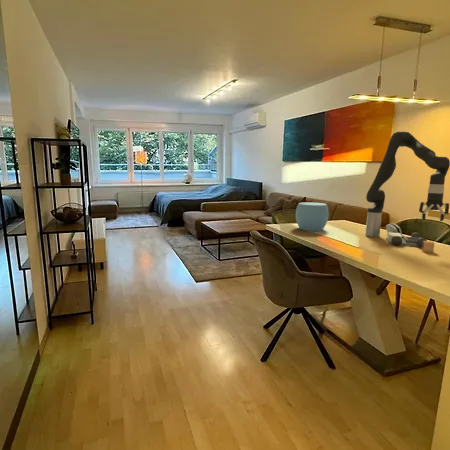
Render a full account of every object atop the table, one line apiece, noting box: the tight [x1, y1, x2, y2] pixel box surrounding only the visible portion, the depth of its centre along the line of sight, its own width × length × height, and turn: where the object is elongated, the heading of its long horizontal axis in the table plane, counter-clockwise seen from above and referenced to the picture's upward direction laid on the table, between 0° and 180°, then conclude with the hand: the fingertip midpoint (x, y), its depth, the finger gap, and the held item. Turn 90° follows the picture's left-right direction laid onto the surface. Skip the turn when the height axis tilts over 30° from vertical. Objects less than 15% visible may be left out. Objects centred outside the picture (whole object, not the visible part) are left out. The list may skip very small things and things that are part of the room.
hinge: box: [385, 223, 406, 237], centre depth 235 cm, size 17×5×10 cm, turn 178°
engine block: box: [421, 240, 435, 254], centre depth 191 cm, size 5×5×6 cm
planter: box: [295, 201, 330, 232], centre depth 255 cm, size 25×25×20 cm
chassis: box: [385, 231, 428, 249], centre depth 212 cm, size 22×20×6 cm
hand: (432, 220), depth 188 cm, fingers open, 8 cm apart
